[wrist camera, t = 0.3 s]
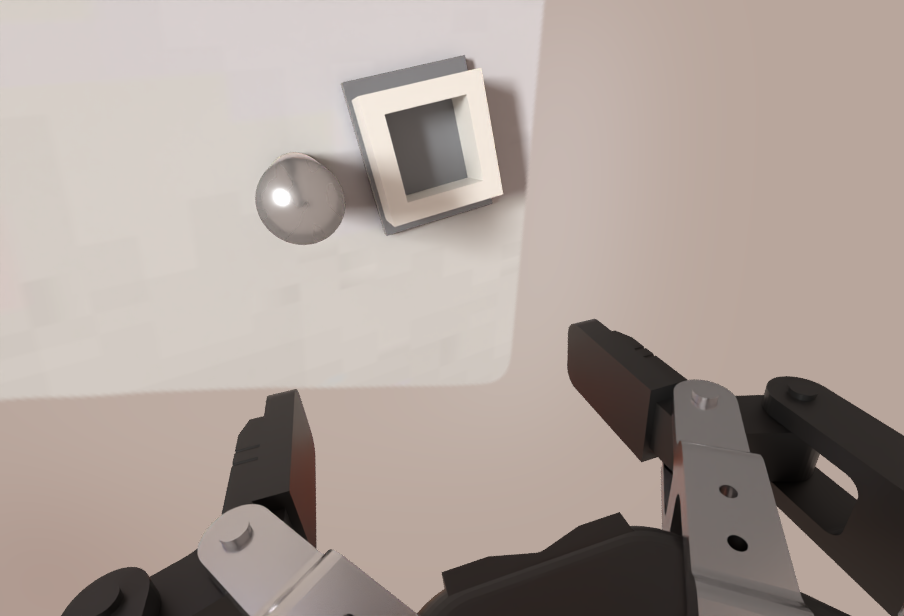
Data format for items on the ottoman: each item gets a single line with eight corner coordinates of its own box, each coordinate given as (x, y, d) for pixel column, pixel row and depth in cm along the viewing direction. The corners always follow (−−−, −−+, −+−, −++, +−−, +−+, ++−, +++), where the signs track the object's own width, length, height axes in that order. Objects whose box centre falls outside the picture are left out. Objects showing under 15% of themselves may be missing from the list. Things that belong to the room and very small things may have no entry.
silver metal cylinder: (258, 160, 34) (240, 170, 22) (315, 146, 35) (329, 148, 23) (280, 216, 36) (275, 255, 24) (333, 201, 37) (355, 231, 25)
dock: (340, 84, 34) (347, 76, 30) (460, 57, 37) (481, 46, 33) (384, 233, 39) (395, 243, 35) (487, 202, 41) (509, 208, 37)
